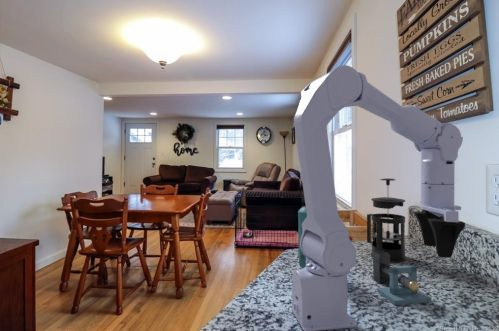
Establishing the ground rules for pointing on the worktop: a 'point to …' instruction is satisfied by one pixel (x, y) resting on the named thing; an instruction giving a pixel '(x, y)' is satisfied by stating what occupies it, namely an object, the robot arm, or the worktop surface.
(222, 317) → the worktop surface
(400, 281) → the hook rod
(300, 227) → the beverage bottle
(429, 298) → the eye bracket
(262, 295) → the worktop surface
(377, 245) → the french press
